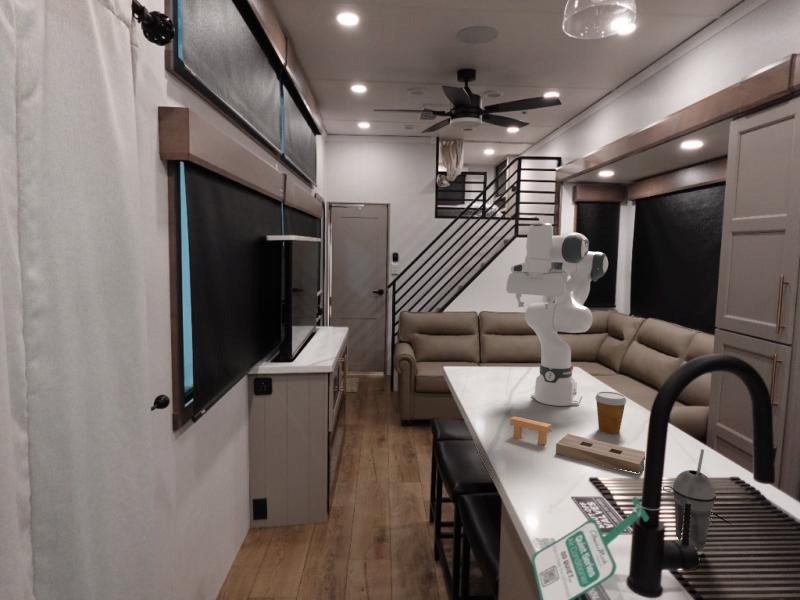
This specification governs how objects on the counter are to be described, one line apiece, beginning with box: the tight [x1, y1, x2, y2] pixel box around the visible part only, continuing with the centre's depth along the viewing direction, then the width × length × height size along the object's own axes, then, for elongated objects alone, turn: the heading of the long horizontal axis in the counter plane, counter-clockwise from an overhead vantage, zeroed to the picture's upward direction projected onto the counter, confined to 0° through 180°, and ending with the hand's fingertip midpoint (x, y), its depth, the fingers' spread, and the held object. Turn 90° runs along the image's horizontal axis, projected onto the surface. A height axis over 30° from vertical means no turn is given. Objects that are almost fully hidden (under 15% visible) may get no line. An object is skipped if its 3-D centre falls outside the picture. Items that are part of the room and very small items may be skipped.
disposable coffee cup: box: [594, 391, 628, 435], centre depth 159 cm, size 10×10×12 cm
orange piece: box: [509, 415, 552, 445], centre depth 149 cm, size 3×12×6 cm, turn 52°
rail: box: [555, 433, 646, 473], centre depth 137 cm, size 10×22×3 cm, turn 52°
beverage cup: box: [671, 448, 717, 551], centre depth 93 cm, size 7×7×20 cm
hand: (534, 308), depth 168 cm, fingers open, 8 cm apart
